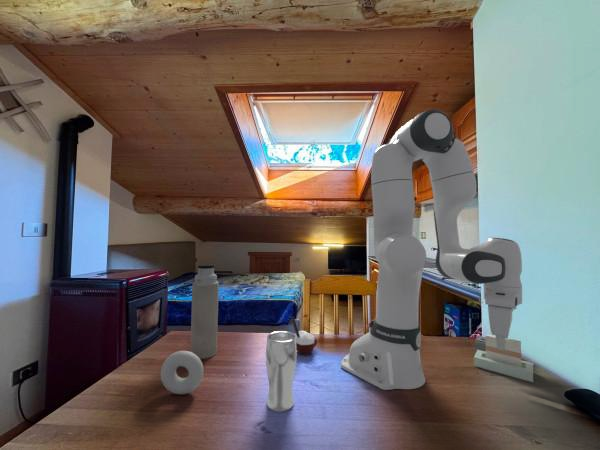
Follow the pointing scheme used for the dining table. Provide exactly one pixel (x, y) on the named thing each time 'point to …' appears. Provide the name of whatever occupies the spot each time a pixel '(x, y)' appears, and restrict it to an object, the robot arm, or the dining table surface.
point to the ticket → (504, 351)
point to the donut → (173, 380)
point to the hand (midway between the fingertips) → (502, 343)
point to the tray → (504, 367)
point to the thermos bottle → (204, 312)
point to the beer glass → (280, 369)
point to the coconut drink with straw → (304, 340)
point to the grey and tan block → (480, 344)
